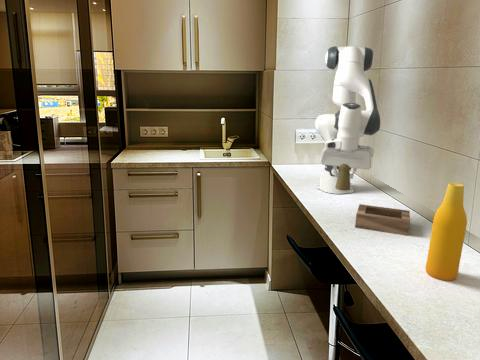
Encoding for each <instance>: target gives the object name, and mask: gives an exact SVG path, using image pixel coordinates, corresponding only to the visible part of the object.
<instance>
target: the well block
mask: <svg viewBox="0 0 480 360" xmlns="http://www.w3.org/2000/svg"><path fill="white" fill-rule="evenodd" d="M410 214H411V212H410V210H407V209H399V208H391V207H384V206H377V205H369V204H362V203H359V204H358V208H357V211H356V216H355V224H354V228H356V229H362V230H369V231H376V232H383V233H389V234H395V235H402V236H409V234H410V227H411V215H410Z"/></svg>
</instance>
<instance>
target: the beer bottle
mask: <svg viewBox="0 0 480 360" xmlns="http://www.w3.org/2000/svg"><path fill="white" fill-rule="evenodd" d="M444 194H445V195H444V197H443V201H442V203H441V205H440V206H439V207H438V209H437V210H436V212H435V214H434V217H433V220H432V226H431V227H432V228H431V233H430V240H429V244H428V245H429V246H428V251H427V259H426V262H425V272H426V274H427V275H428V276H430V277H432V278H434V279H437V280H441V281H448V280H449V281H455V280H456V279H457V278H458V275H459V269H460V264H461V263H460V262H461V257H462V251H463V247H464V243H465V242H464V241H465V235H466V230H467V226H468V225H467V223H468V220H467V219H468V218H467V213H466V211H465V207H464V197H465V196H464V194H465V185H464V184H462V183H457V182H449V183H448V184H447V188H446V190H445V193H444Z"/></svg>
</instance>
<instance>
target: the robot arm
mask: <svg viewBox="0 0 480 360" xmlns="http://www.w3.org/2000/svg"><path fill="white" fill-rule="evenodd" d="M324 60H325V61H324V62H325V65H326V67H327V69H329V70H332V71H335V75H334V81H333V89H332V90H333V91H332V99H331V100H332V103H333V105H335V106H337V107H338V108H340V110H338V111H337V112H336V113H323V114H320V115H318V116H317V117H316V119H315V122H314V129H315V132H317V134H319V135H320V137H321V138H322V139H323V141H324V148H323V149H322V151H321V155H320V159H319V162H320V164H321V165H323V166H324V171H322V172H321V174H320V182H319V184H318V185H316V189H317V190H321V192H325V193H329V194H334V195H335V194H336V195H337V194H338V195H344V194H351V193H352V194H353V193H354V189H353V186H352V182H350V190H347V191H343V190H338V189H336V188H335V187H336V183H337V178H338V175H339V166H340V165H341V164H347V165H348V166H349V167H350V168H351V169H352V171H353V172H352V173H351V172H350V177H349V178H350V180H351V179H352V180H353V179H354V175H355V173H357V170H358V169H360V170H367V171H368V170H370V169H371V168H372V158H373V156H374V152H375V151H374V149H373V148H372V146H369V145H362V144H361V145H360V138H363V137H364V136H365V135H366V136H373V135H375V134H377V132H379V131H380V129H381V123H382V122H381V121H382V120H381V115H380V113H379V109H378V105H377V100H376V93H375V90H374V86H373V82H372V80H371V79H370V78H369V77H367V75H366V73H365V72H366V71H367V72H368V71H369V70H370V69H371V68H372V66H373V64H374V61H375V55H374V51H373V50H372V48H370V47H363V46H362V47H361V46H356V45H355V46H353V45H350V46H344V45H343V46H336V45H335V46H331V47H329V48H328V49H327V51H326V53H325V57H324ZM357 94H358V95H360V96H361V97H362V98H363V100H364V103H365V110H364V109H363V110H362V106H361V105H360V104H359V103H357Z"/></svg>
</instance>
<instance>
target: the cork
mask: <svg viewBox="0 0 480 360" xmlns="http://www.w3.org/2000/svg"><path fill="white" fill-rule="evenodd" d="M351 170H352V168H350V167H349V166H348V165H347V164H341V165H340V166H339V175H338V178H337V183H336V187H335V188H336V189H338V190H343V191H347V190H350V183H351V178H349V177H350V173H351Z"/></svg>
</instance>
